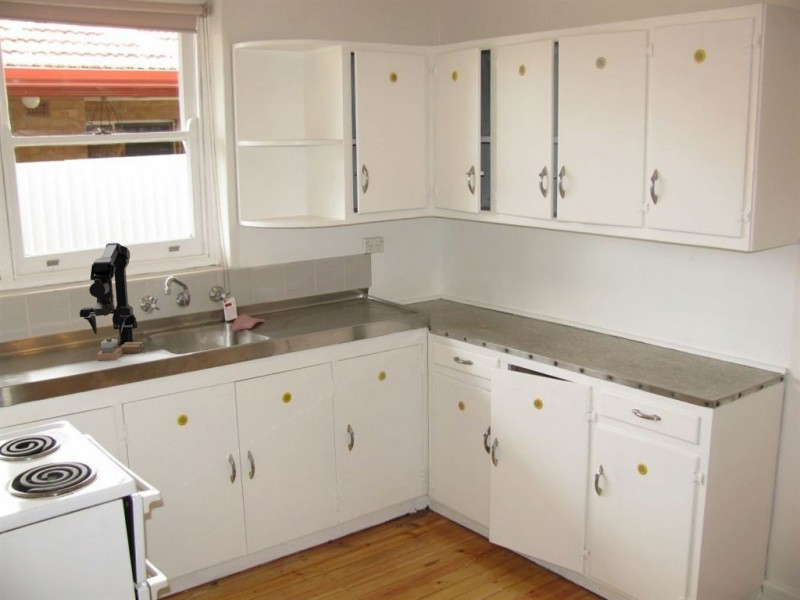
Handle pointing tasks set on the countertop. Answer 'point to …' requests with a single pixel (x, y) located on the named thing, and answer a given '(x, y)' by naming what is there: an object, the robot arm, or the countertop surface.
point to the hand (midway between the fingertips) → (108, 333)
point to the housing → (109, 345)
